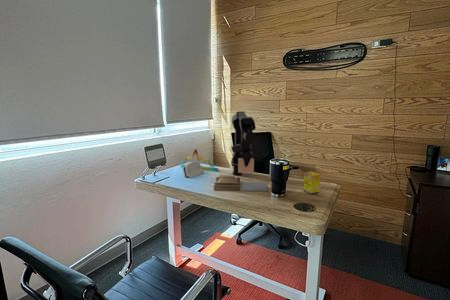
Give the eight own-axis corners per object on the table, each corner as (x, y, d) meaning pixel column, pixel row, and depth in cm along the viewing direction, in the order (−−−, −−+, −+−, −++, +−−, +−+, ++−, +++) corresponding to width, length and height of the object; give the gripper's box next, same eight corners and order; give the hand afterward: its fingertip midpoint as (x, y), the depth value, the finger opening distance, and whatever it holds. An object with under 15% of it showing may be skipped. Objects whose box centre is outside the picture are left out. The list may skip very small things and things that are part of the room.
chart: (218, 170, 180) (218, 150, 177) (216, 171, 177) (216, 151, 174) (183, 166, 191) (182, 147, 188) (180, 167, 188) (180, 148, 185)
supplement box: (303, 191, 137) (304, 172, 135) (311, 189, 139) (312, 171, 137) (310, 194, 132) (311, 175, 130) (319, 193, 134) (320, 174, 132)
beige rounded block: (189, 178, 161) (185, 163, 161) (184, 179, 163) (180, 165, 163) (204, 172, 175) (200, 158, 175) (199, 173, 177) (195, 160, 177)
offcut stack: (218, 181, 154) (218, 174, 153) (237, 181, 154) (237, 174, 153) (218, 184, 150) (217, 177, 149) (237, 184, 149) (237, 177, 148)
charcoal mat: (242, 183, 151) (242, 182, 151) (264, 183, 150) (264, 182, 150) (242, 191, 137) (242, 190, 137) (267, 191, 137) (267, 190, 137)
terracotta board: (238, 171, 143) (238, 158, 141) (253, 171, 142) (253, 158, 141) (238, 172, 141) (238, 159, 139) (253, 173, 140) (254, 159, 138)
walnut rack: (216, 180, 156) (216, 177, 155) (239, 181, 155) (239, 177, 155) (213, 190, 139) (213, 186, 139) (240, 190, 138) (240, 186, 138)
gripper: (232, 137, 147) (232, 162, 151) (231, 142, 129) (231, 170, 132) (251, 137, 147) (250, 162, 150) (252, 142, 128) (252, 170, 131)
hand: (246, 166), depth 141 cm, fingers closed on terracotta board, 2 cm apart
